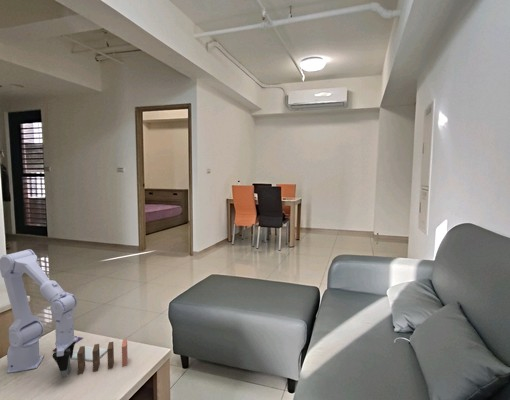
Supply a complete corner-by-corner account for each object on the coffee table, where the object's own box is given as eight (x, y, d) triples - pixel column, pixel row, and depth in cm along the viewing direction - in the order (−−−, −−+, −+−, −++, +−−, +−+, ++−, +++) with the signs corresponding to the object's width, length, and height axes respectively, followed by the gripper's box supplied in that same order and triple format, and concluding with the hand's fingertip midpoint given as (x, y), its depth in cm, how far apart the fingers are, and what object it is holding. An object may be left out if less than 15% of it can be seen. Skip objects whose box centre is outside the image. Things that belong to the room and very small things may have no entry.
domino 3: (93, 371, 114) (92, 351, 113) (95, 364, 119) (94, 344, 118) (97, 371, 114) (97, 350, 114) (99, 363, 119) (99, 343, 118)
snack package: (73, 334, 138) (83, 335, 137) (73, 338, 138) (83, 339, 137) (52, 348, 126) (62, 349, 125) (52, 352, 127) (62, 354, 126)
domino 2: (77, 374, 112) (77, 353, 112) (80, 366, 117) (80, 346, 116) (82, 373, 113) (82, 353, 112) (85, 365, 118) (84, 345, 117)
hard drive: (67, 356, 122) (95, 359, 120) (82, 345, 130) (109, 347, 128) (67, 360, 122) (95, 363, 120) (82, 348, 130) (109, 351, 128)
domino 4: (107, 369, 116) (107, 349, 115) (109, 361, 120) (108, 342, 120) (112, 368, 116) (111, 348, 115) (113, 360, 121) (113, 341, 120)
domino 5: (122, 366, 117) (121, 346, 117) (123, 359, 122) (122, 340, 121) (126, 365, 118) (126, 346, 117) (127, 358, 122) (127, 339, 122)
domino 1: (62, 377, 111) (61, 356, 110) (65, 369, 115) (65, 348, 115) (67, 376, 111) (66, 355, 110) (70, 368, 116) (69, 348, 115)
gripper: (72, 336, 106) (74, 373, 107) (81, 318, 120) (82, 351, 121) (49, 340, 104) (50, 378, 105) (60, 320, 118) (61, 354, 119)
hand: (66, 363), depth 113 cm, fingers open, 7 cm apart
